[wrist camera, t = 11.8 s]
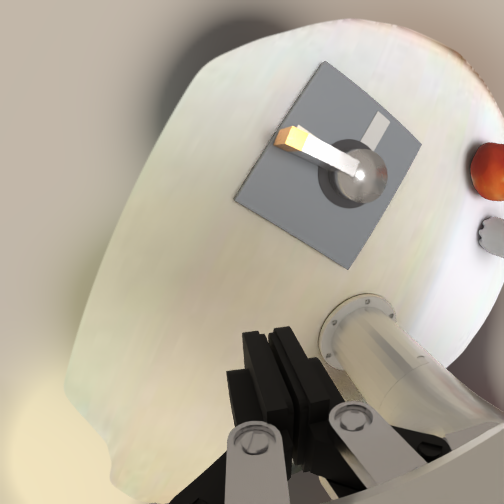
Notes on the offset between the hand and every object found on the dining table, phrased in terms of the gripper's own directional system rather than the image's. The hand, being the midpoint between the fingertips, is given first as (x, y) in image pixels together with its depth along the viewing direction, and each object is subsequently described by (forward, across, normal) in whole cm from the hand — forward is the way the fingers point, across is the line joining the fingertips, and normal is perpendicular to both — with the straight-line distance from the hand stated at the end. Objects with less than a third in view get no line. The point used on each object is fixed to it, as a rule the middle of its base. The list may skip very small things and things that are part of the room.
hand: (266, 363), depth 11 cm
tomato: (+27, -42, -6) cm, 51 cm away
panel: (+27, -15, -6) cm, 31 cm away
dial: (+26, -13, -6) cm, 29 cm away
